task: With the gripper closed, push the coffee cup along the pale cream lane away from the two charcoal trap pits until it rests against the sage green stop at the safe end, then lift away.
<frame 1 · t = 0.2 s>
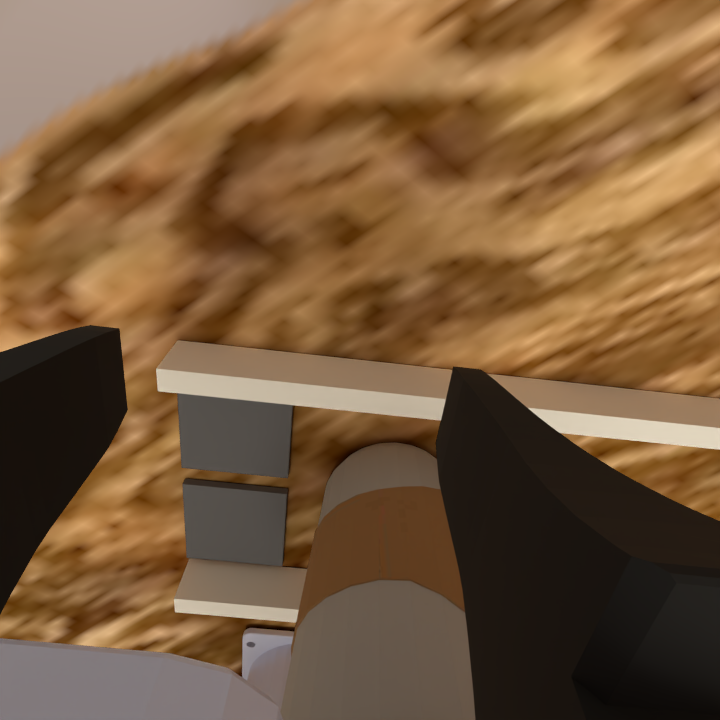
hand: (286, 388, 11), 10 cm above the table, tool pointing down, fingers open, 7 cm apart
coffee cup: (390, 487, 26), on the table
lane box: (470, 498, 26), on the table
trap pits: (236, 475, 25), on the table
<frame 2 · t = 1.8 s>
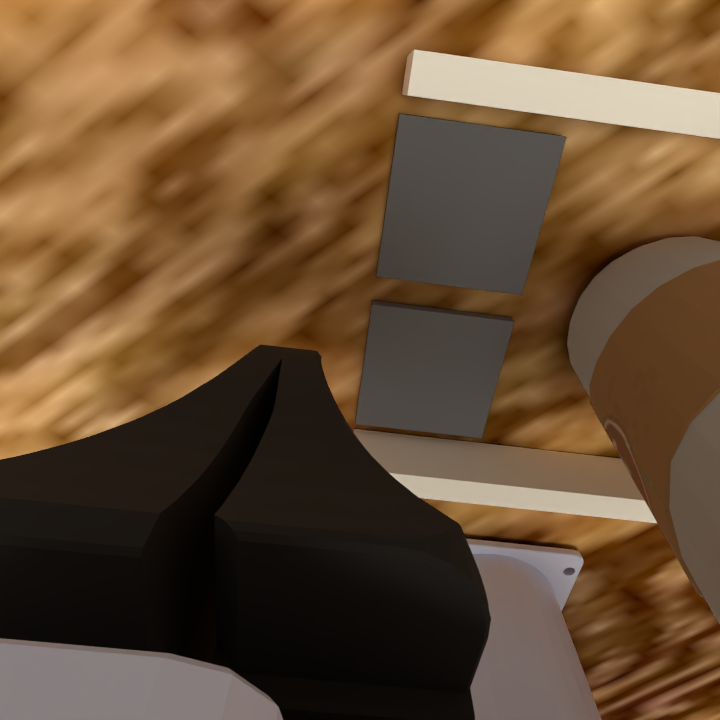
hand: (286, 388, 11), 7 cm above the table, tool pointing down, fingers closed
coffee cup: (649, 319, 19), on the table
trap pits: (445, 295, 18), on the table
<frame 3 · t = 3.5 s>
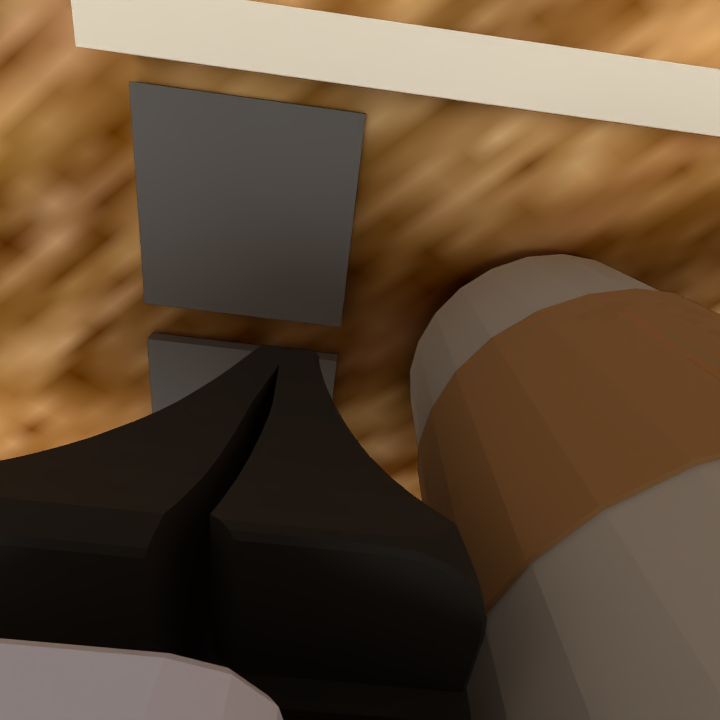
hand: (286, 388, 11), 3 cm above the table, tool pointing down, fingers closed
coffee cup: (521, 359, 14), on the table, touching gripper
lane box: (663, 376, 14), on the table
trap pits: (246, 326, 14), on the table
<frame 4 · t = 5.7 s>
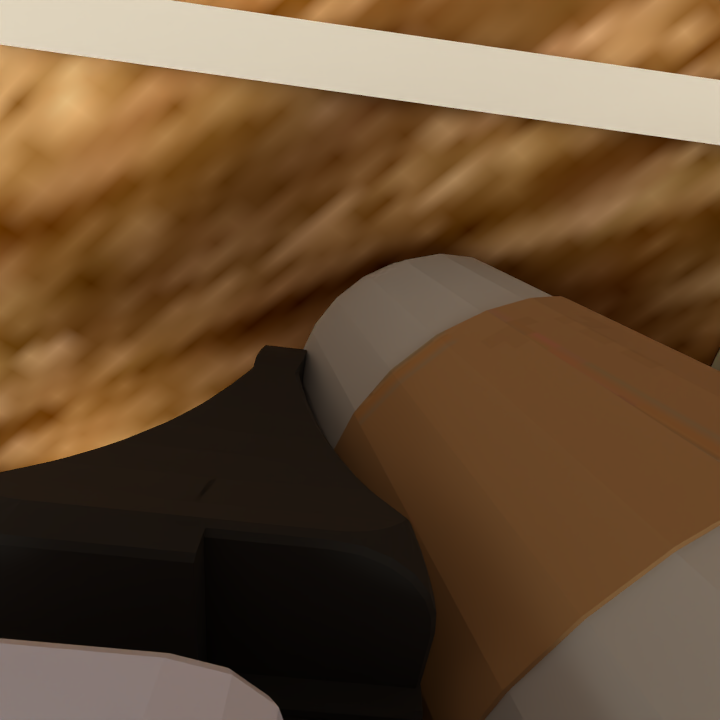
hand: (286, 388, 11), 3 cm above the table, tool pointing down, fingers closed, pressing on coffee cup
coffee cup: (404, 363, 13), point 1 cm above the table, touching gripper
lane box: (242, 329, 14), on the table
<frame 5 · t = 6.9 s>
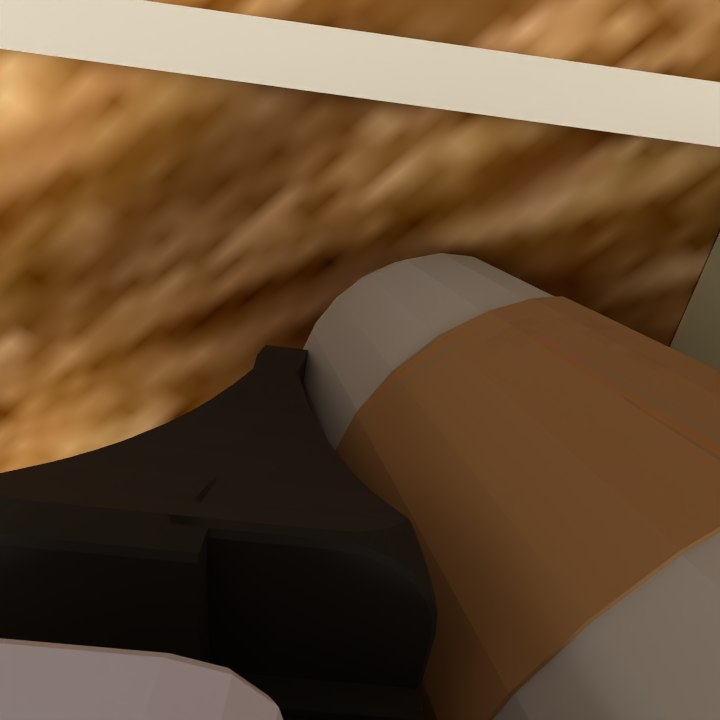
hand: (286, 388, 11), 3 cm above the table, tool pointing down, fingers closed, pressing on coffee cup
coffee cup: (404, 362, 13), point 1 cm above the table, touching gripper
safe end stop: (676, 381, 15), on the table
lane box: (192, 325, 14), on the table
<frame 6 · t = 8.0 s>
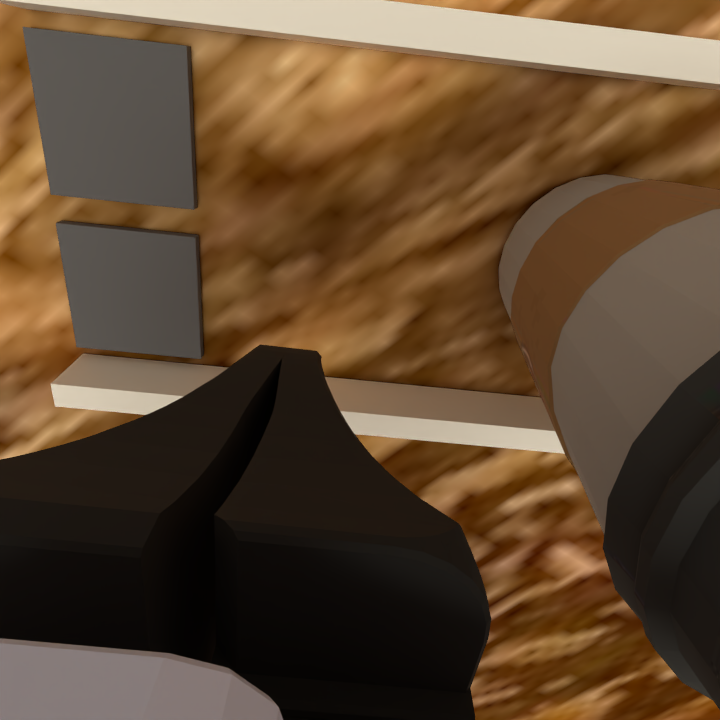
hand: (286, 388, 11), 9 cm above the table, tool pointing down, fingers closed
coffee cup: (578, 260, 20), on the table
lane box: (441, 246, 19), on the table
trap pits: (128, 213, 19), on the table
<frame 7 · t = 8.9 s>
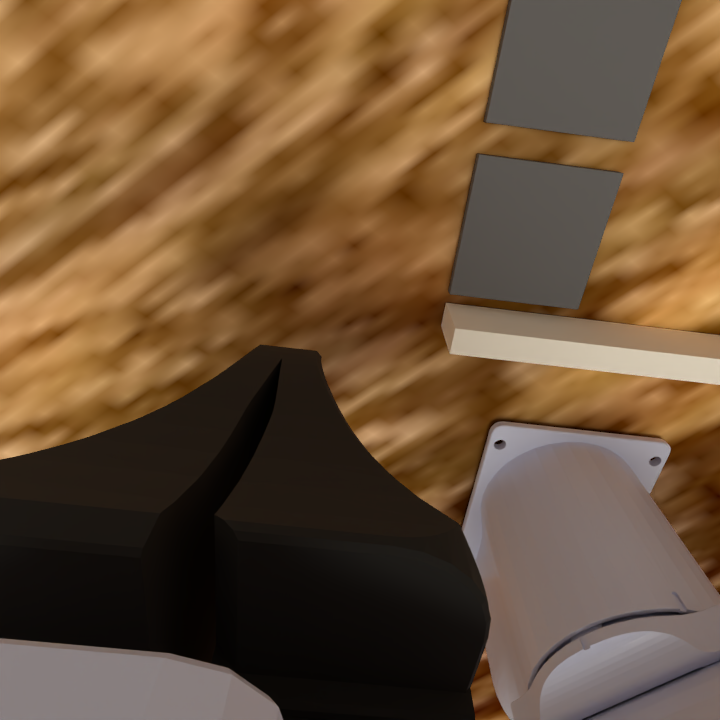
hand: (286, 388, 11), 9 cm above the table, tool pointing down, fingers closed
trap pits: (552, 147, 18), on the table
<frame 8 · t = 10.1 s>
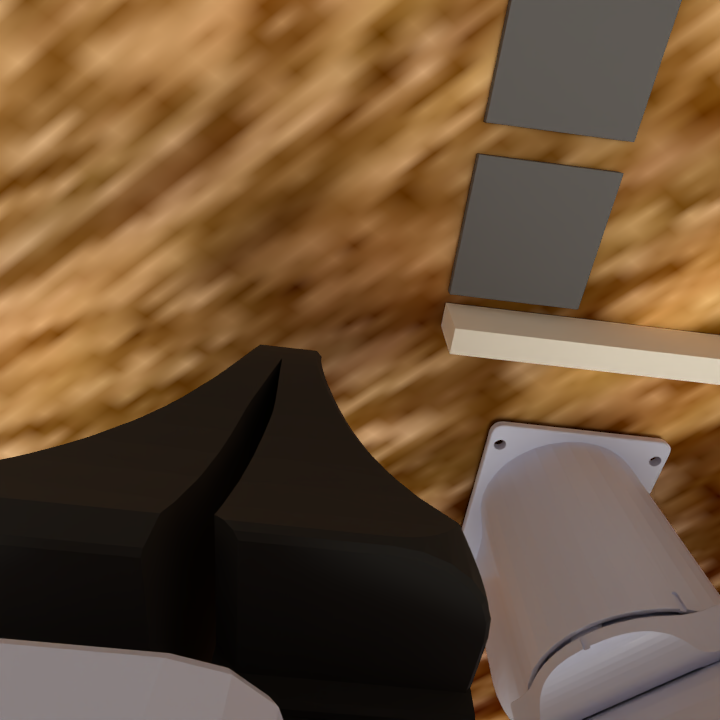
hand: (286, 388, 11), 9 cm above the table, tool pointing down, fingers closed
trap pits: (552, 147, 18), on the table
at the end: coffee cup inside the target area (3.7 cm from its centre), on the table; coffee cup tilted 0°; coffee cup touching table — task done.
